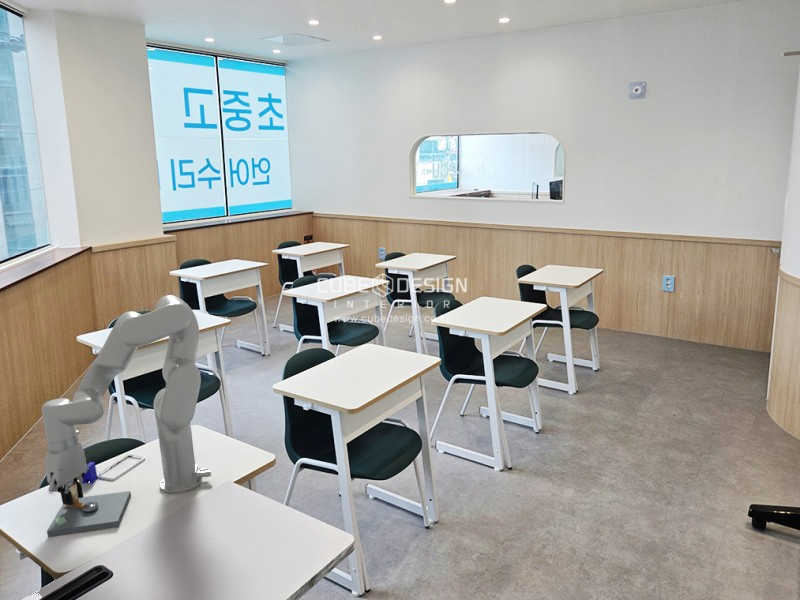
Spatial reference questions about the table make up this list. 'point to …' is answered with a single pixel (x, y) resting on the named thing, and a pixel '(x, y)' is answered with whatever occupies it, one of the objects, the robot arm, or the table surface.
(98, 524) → the dial panel
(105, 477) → the grey rectangular frame
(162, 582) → the table surface
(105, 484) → the table surface
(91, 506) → the dial lever
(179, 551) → the table surface
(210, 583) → the table surface
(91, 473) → the blue cradle holder
